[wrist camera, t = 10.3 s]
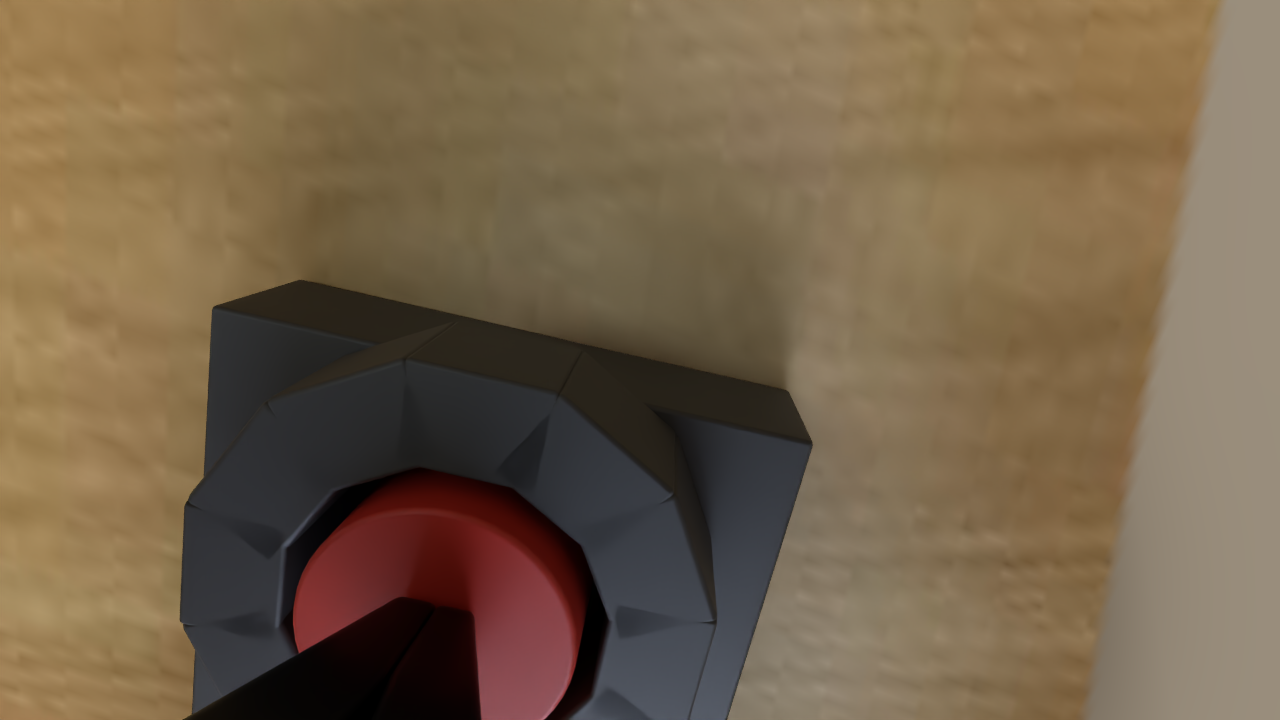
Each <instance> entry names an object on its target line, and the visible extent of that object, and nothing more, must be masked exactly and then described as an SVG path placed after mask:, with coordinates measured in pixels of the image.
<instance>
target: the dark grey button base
mask: <svg viewBox="0 0 1280 720" xmlns="http://www.w3.org/2000/svg"><path fill="white" fill-rule="evenodd" d="M812 446H813V444H812V440H811V438H810V436H809V434H808V432H807V430H806V428H805V425H804V423H803V421H802V419H801V417H800V415H799V413H798V411H797V409H796V406H795V404H794V402H793V400H792V398H791V396H790V394H789V392H788V391H786V390H782V389H778V388H774V387H769V386H765V385H760V384H756V383H752V382H747V381H743V380H738V379H734V378H730V377H725V376H721V375H716V374H712V373H708V372H703V371H699V370H695V369H690V368H686V367H681V366H677V365H673V364H668V363H664V362H659V361H655V360H651V359H646V358H642V357H637V356H633V355H629V354H624V353H620V352H616V351H611V350H607V349H602V348H598V347H594V346H589V345H585V344H580V343H576V342H572V341H567V340H563V339H558V338H554V337H550V336H545V335H541V334H537V333H532V332H528V331H523V330H519V329H515V328H510V327H506V326H501V325H497V324H493V323H488V322H484V321H479V320H475V319H471V318H466V317H462V316H458V315H453V314H449V313H444V312H440V311H436V310H431V309H427V308H422V307H418V306H414V305H409V304H405V303H400V302H396V301H392V300H387V299H383V298H378V297H374V296H370V295H365V294H361V293H357V292H352V291H348V290H343V289H339V288H335V287H330V286H326V285H321V284H317V283H313V282H308V281H304V280H298V281H294V282H291V283H288V284H285V285H281V286H278V287H275V288H272V289H268V290H265V291H262V292H259V293H255V294H252V295H249V296H245V297H242V298H239V299H236V300H232V301H229V302H226V303H223V304H219V305H216V306H214V307H213V309H212V322H211V342H210V362H209V382H208V402H207V422H206V442H205V462H204V478H203V479H202V480H201V481H200V483H199V484H198V485H197V486H196V488H195V489H194V490H193V491H192V493H191V494H190V496H189V499H188V501H187V502H186V504H185V506H184V530H183V554H182V577H181V601H180V622H181V623H183V627H184V630H185V632H186V634H187V636H188V638H189V639H190V641H191V643H192V645H193V647H194V649H195V663H194V683H193V704H192V714H194V713H195V712H197V711H199V710H201V709H202V708H204V707H206V706H208V705H209V704H211V703H213V702H215V701H216V700H218V699H220V698H222V697H223V696H225V695H227V694H229V693H230V692H232V691H234V690H236V689H237V688H239V687H241V686H243V685H244V684H246V683H248V682H250V681H251V680H253V679H255V678H257V677H258V676H260V675H262V674H264V673H265V672H267V671H269V670H271V669H272V668H274V667H276V666H278V665H279V664H281V663H283V662H285V661H286V660H288V659H290V658H292V657H293V656H295V655H297V654H299V652H298V648H297V644H296V641H295V635H294V627H293V607H294V601H295V596H296V590H297V586H298V584H299V581H300V578H301V575H302V573H303V571H304V569H305V567H306V565H307V563H308V561H309V559H310V558H311V557H312V555H313V554H314V553H315V552H316V550H317V549H318V548H319V546H320V545H321V544H322V543H323V542H324V541H325V540H326V539H327V538H328V537H329V536H330V535H331V534H332V532H333V531H334V530H335V529H336V528H337V527H338V526H339V525H340V524H341V523H342V522H343V521H344V520H345V519H346V518H347V517H348V515H349V514H350V513H351V512H352V511H353V510H354V509H355V508H356V507H357V506H358V505H359V504H360V503H361V502H362V501H363V500H364V498H365V497H366V496H367V495H368V494H369V493H370V492H371V491H372V490H373V489H374V488H375V487H376V486H377V485H378V484H379V482H380V481H382V480H383V479H384V478H385V477H387V476H390V475H394V474H397V473H401V472H404V471H408V470H412V469H415V468H419V467H421V468H426V469H430V470H434V471H439V472H443V473H448V474H452V475H457V476H461V477H465V478H470V479H474V480H479V481H483V482H487V483H492V484H496V485H501V486H505V487H510V488H512V489H514V490H515V491H516V492H517V493H518V494H520V495H521V496H522V497H523V498H524V499H526V500H527V501H528V502H529V503H530V504H532V505H533V506H534V507H535V508H536V509H538V510H539V511H540V512H541V513H542V514H544V515H545V516H546V517H547V518H548V519H550V520H551V521H552V522H553V523H554V524H556V525H557V526H558V527H559V528H560V529H562V530H563V531H564V532H565V533H566V534H568V535H569V536H570V537H571V538H572V539H574V540H575V541H576V542H577V543H578V544H580V545H581V547H582V549H583V552H584V555H585V558H586V560H587V563H588V566H589V568H590V571H591V574H592V576H593V584H592V589H591V594H590V599H589V603H588V608H587V613H586V618H585V623H584V627H583V632H582V637H581V642H580V647H579V651H578V656H577V661H576V666H575V670H574V673H573V676H572V679H571V682H570V684H569V686H568V688H567V690H566V692H565V694H564V696H563V698H562V699H561V701H560V702H559V704H558V705H557V706H556V708H555V709H554V710H553V711H552V712H551V713H550V714H549V715H548V717H547V718H546V719H545V720H727V718H728V714H729V711H730V708H731V705H732V702H733V698H734V695H735V692H736V689H737V686H738V682H739V679H740V676H741V673H742V670H743V667H744V663H745V660H746V657H747V654H748V651H749V647H750V644H751V641H752V638H753V635H754V631H755V628H756V625H757V622H758V619H759V615H760V612H761V609H762V606H763V603H764V599H765V596H766V593H767V590H768V587H769V584H770V580H771V577H772V574H773V571H774V568H775V564H776V561H777V558H778V555H779V552H780V548H781V545H782V542H783V539H784V536H785V532H786V529H787V526H788V523H789V520H790V517H791V513H792V510H793V507H794V504H795V501H796V497H797V494H798V491H799V488H800V485H801V481H802V478H803V475H804V472H805V469H806V465H807V462H808V459H809V456H810V453H811V449H812Z"/></svg>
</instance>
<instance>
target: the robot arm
mask: <svg viewBox="0 0 1280 720" xmlns="http://www.w3.org/2000/svg"><path fill="white" fill-rule="evenodd" d="M183 720H481V705H480V691H479V676H478V661H477V647H476V632H475V618H474V615H473V613H471V612H470V611H466V610H461V609H457V608H452V607H448V606H439V607H437V608H436V609H435V606H434V605H433V604H432V603H430V602H426V601H421V600H417V599H412V598H408V597H398V598H395V599H393V600H392V601H390V602H388V603H386V604H385V605H383V606H381V607H379V608H378V609H376V610H374V611H372V612H371V613H369V614H367V615H365V616H364V617H362V618H360V619H358V620H357V621H355V622H353V623H351V624H350V625H348V626H346V627H344V628H343V629H341V630H339V631H337V632H336V633H334V634H332V635H330V636H328V637H327V638H325V639H323V640H321V641H320V642H318V643H316V644H314V645H313V646H311V647H309V648H307V649H306V650H304V651H302V652H300V653H299V654H297V655H295V656H293V657H292V658H290V659H288V660H286V661H285V662H283V663H281V664H279V665H278V666H276V667H274V668H272V669H271V670H269V671H267V672H265V673H264V674H262V675H260V676H258V677H257V678H255V679H253V680H251V681H250V682H248V683H246V684H244V685H243V686H241V687H239V688H237V689H236V690H234V691H232V692H230V693H229V694H227V695H225V696H223V697H222V698H220V699H218V700H216V701H215V702H213V703H211V704H209V705H208V706H206V707H204V708H202V709H201V710H199V711H197V712H195V713H194V714H192V715H190V716H188V717H187V718H185V719H183Z"/></svg>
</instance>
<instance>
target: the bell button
mask: <svg viewBox="0 0 1280 720" xmlns="http://www.w3.org/2000/svg"><path fill="white" fill-rule="evenodd" d="M592 584H593V576H592V574H591V571H590V568H589V566H588V563H587V560H586V558H585V555H584V552H583V549H582V547H581V545H580V544H578V543H577V542H576V541H575V540H574V539H572V538H571V537H570V536H569V535H568V534H566V533H565V532H564V531H563V530H562V529H560V528H559V527H558V526H557V525H556V524H554V523H553V522H552V521H551V520H550V519H548V518H547V517H546V516H545V515H544V514H542V513H541V512H540V511H539V510H538V509H536V508H535V507H534V506H533V505H532V504H530V503H529V502H528V501H527V500H526V499H524V498H523V497H522V496H521V495H520V494H518V493H517V492H516V491H515V490H514V489H512V488H510V487H505V486H501V485H496V484H492V483H487V482H483V481H479V480H474V479H470V478H465V477H461V476H457V475H452V474H448V473H443V472H439V471H434V470H430V469H426V468H421V467H419V468H415V469H412V470H408V471H404V472H401V473H397V474H394V475H390V476H387V477H385V478H384V479H383V480H382V481H380V482H379V484H378V485H377V486H376V487H375V488H374V489H373V490H372V491H371V492H370V493H369V494H368V495H367V496H366V497H365V498H364V500H363V501H362V502H361V503H360V504H359V505H358V506H357V507H356V508H355V509H354V510H353V511H352V512H351V513H350V514H349V515H348V517H347V518H346V519H345V520H344V521H343V522H342V523H341V524H340V525H339V526H338V527H337V528H336V529H335V530H334V531H333V532H332V534H331V535H330V536H329V537H328V538H327V539H326V540H325V541H324V542H323V543H322V544H321V545H320V546H319V548H318V549H317V550H316V552H315V553H314V554H313V555H312V557H311V558H310V559H309V561H308V563H307V565H306V567H305V569H304V571H303V573H302V575H301V578H300V581H299V584H298V586H297V590H296V596H295V601H294V607H293V627H294V635H295V641H296V644H297V648H298V652H299V653H300V652H302V651H304V650H306V649H307V648H309V647H311V646H313V645H314V644H316V643H318V642H320V641H321V640H323V639H325V638H327V637H328V636H330V635H332V634H334V633H336V632H337V631H339V630H341V629H343V628H344V627H346V626H348V625H350V624H351V623H353V622H355V621H357V620H358V619H360V618H362V617H364V616H365V615H367V614H369V613H371V612H372V611H374V610H376V609H378V608H379V607H381V606H383V605H385V604H386V603H388V602H390V601H392V600H393V599H395V598H398V597H408V598H412V599H417V600H421V601H426V602H430V603H432V604H433V605H434V606H435V609H436V608H437V607H439V606H448V607H452V608H457V609H461V610H466V611H470V612H471V613H473V615H474V618H475V632H476V647H477V661H478V676H479V691H480V705H481V720H545V719H546V718H547V717H548V715H549V714H550V713H551V712H552V711H553V710H554V709H555V708H556V706H557V705H558V704H559V702H560V701H561V699H562V698H563V696H564V694H565V692H566V690H567V688H568V686H569V684H570V682H571V679H572V676H573V673H574V670H575V666H576V661H577V656H578V651H579V647H580V642H581V637H582V632H583V627H584V623H585V618H586V613H587V608H588V603H589V599H590V594H591V589H592Z"/></svg>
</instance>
